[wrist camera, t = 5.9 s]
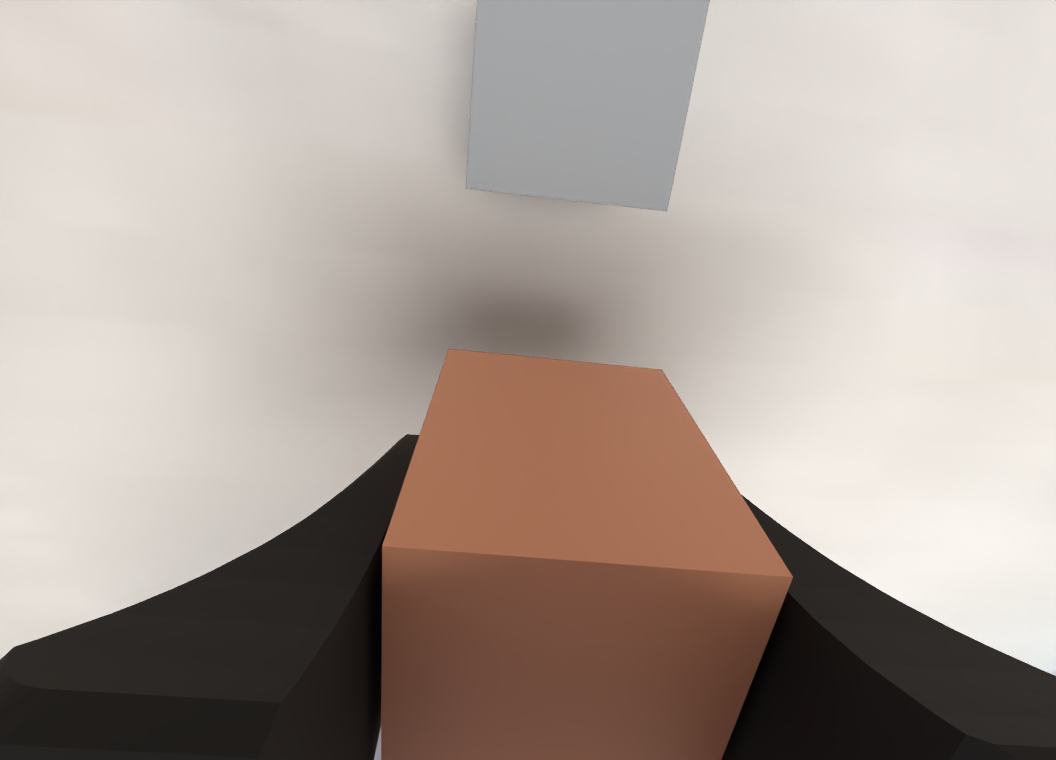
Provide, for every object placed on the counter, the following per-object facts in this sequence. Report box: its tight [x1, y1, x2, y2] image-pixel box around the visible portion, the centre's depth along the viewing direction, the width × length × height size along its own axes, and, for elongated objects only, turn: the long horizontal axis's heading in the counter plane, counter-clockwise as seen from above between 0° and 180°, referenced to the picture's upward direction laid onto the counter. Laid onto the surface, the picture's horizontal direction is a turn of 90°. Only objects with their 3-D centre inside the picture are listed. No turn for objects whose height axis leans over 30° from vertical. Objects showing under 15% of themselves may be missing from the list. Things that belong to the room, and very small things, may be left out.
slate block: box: [466, 0, 710, 211], centre depth 14 cm, size 4×4×6 cm
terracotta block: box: [381, 349, 793, 760], centre depth 10 cm, size 4×4×6 cm
